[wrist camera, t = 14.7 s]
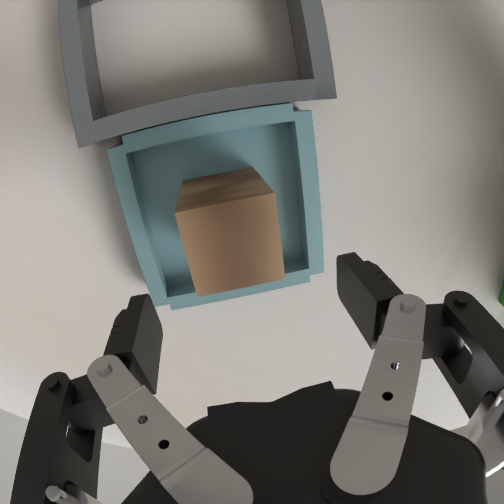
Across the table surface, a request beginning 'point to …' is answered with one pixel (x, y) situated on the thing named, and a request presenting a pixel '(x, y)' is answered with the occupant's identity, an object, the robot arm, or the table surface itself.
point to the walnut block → (230, 231)
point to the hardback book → (502, 295)
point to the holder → (101, 127)
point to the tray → (213, 162)
